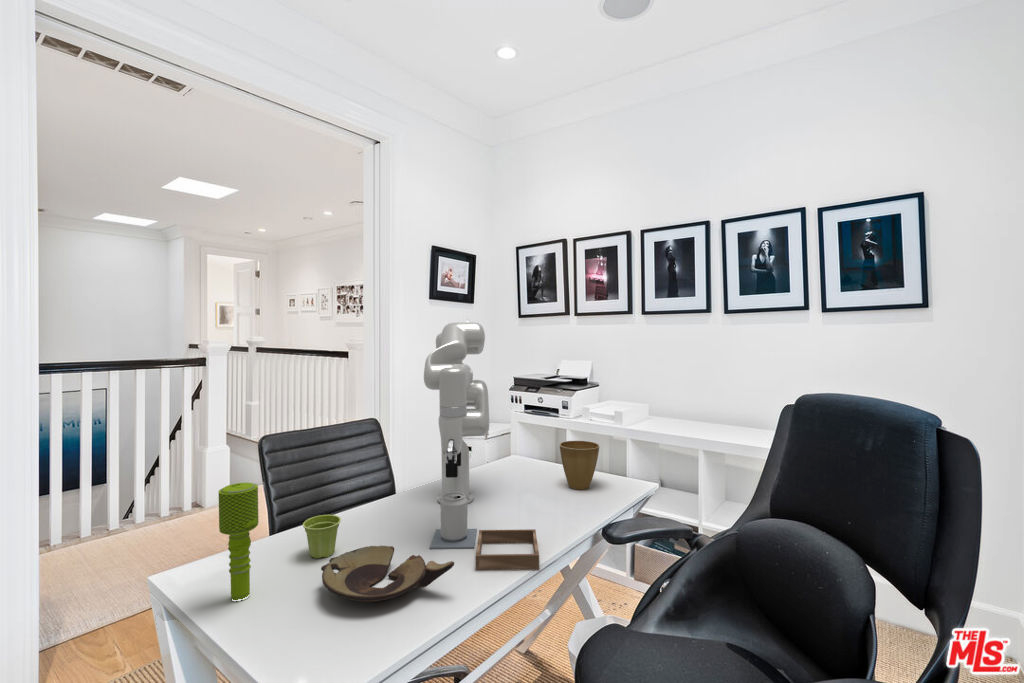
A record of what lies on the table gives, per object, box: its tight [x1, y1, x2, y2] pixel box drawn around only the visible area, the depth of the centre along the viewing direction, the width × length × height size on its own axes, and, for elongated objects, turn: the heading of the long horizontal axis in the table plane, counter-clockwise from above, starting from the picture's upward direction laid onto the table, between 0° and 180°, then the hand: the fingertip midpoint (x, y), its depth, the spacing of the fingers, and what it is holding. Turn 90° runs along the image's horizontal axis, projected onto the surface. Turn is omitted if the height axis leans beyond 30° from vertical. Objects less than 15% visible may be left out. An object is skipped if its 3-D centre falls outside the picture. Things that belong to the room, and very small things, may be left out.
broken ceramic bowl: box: [320, 545, 455, 602], centre depth 110 cm, size 22×30×8 cm
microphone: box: [217, 482, 259, 600], centre depth 108 cm, size 8×8×25 cm
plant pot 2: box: [559, 440, 600, 491], centre depth 182 cm, size 15×15×16 cm
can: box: [440, 492, 468, 541], centre depth 137 cm, size 8×8×12 cm
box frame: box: [475, 528, 540, 571], centre depth 127 cm, size 16×16×4 cm
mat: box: [429, 528, 478, 550], centre depth 137 cm, size 12×12×1 cm
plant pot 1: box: [302, 514, 342, 559], centre depth 129 cm, size 9×9×9 cm
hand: (453, 471), depth 137 cm, fingers open, 9 cm apart
